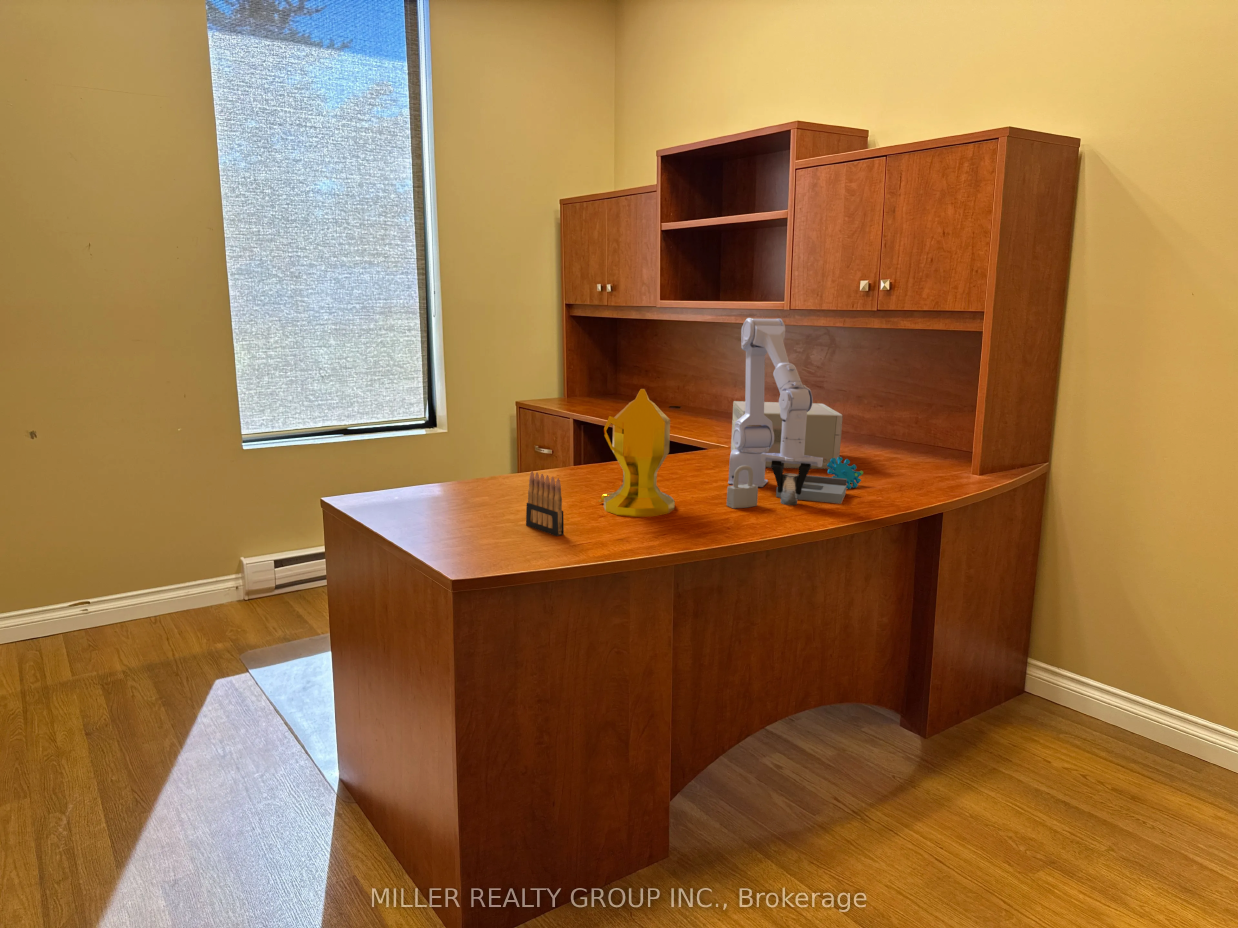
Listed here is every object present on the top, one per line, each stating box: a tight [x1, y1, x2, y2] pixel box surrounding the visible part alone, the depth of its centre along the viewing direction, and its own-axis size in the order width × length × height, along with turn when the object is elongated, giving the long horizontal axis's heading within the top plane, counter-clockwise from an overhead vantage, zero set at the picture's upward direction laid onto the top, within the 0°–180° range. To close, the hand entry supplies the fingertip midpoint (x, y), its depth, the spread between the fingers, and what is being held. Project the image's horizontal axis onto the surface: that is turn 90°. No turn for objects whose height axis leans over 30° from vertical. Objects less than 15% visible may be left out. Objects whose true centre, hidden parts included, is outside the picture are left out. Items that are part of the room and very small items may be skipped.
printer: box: [730, 400, 843, 470], centre depth 263 cm, size 27×29×16 cm
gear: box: [827, 456, 864, 490], centre depth 230 cm, size 11×6×10 cm
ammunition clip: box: [525, 470, 565, 537], centre depth 179 cm, size 11×2×12 cm, turn 43°
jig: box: [775, 472, 847, 505], centre depth 217 cm, size 16×12×4 cm
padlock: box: [726, 465, 759, 509], centre depth 204 cm, size 7×4×10 cm, turn 118°
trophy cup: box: [597, 388, 676, 518], centre depth 198 cm, size 18×24×28 cm
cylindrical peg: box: [780, 473, 799, 506], centre depth 208 cm, size 4×4×7 cm
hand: (789, 492), depth 208 cm, fingers closed on cylindrical peg, 4 cm apart
